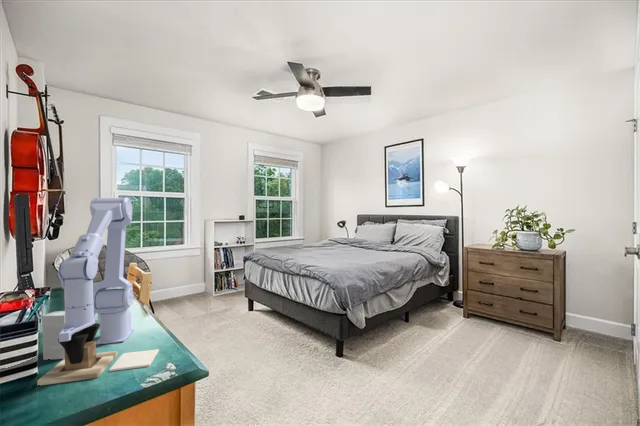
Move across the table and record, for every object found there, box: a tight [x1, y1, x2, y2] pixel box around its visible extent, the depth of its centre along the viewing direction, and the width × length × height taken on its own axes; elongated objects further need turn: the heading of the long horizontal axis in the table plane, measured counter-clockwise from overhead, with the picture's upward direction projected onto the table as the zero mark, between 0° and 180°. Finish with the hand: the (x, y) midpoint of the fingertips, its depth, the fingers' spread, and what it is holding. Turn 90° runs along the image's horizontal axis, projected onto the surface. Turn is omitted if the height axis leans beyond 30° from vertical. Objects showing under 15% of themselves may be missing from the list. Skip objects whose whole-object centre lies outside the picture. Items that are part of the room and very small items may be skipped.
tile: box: [108, 348, 160, 373], centre depth 81 cm, size 9×9×1 cm
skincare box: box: [41, 310, 65, 361], centre depth 85 cm, size 6×4×12 cm
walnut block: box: [65, 340, 97, 371], centre depth 77 cm, size 4×5×6 cm
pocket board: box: [36, 350, 119, 386], centre depth 77 cm, size 12×12×1 cm
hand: (81, 358), depth 77 cm, fingers closed on walnut block, 4 cm apart
